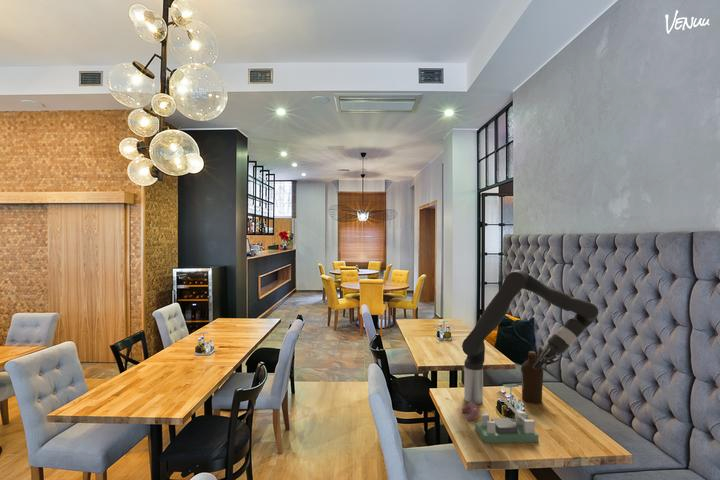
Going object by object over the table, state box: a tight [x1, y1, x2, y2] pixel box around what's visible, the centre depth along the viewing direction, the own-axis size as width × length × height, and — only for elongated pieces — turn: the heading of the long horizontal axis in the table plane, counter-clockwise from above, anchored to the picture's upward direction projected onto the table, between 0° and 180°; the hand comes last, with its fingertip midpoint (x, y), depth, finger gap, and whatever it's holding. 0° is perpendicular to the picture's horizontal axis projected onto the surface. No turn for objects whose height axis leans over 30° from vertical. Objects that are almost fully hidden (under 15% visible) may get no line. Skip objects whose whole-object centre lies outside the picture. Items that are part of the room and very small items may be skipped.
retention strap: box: [496, 390, 527, 422], centre depth 157 cm, size 5×17×2 cm
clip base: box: [474, 411, 539, 444], centre depth 157 cm, size 11×22×8 cm, turn 92°
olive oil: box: [520, 350, 544, 404], centre depth 192 cm, size 11×11×25 cm
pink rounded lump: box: [461, 402, 480, 422], centre depth 174 cm, size 10×5×7 cm, turn 1°
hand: (534, 368), depth 158 cm, fingers closed
